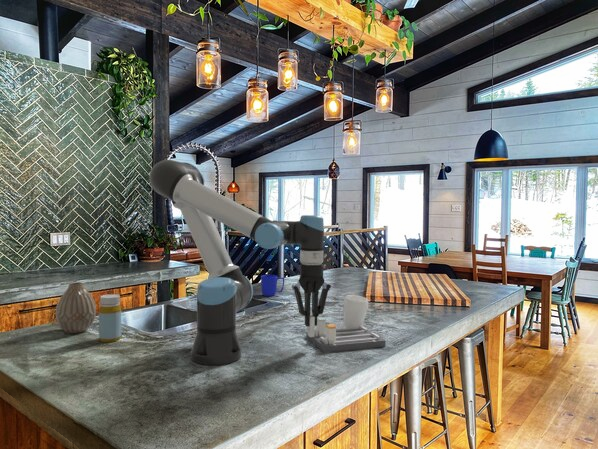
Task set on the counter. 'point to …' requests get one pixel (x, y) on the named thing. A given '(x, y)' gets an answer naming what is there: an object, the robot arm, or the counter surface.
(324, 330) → the block
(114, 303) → the bottle
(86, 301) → the vase
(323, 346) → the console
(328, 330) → the fader
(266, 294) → the mug
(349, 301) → the cup
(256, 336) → the counter surface
